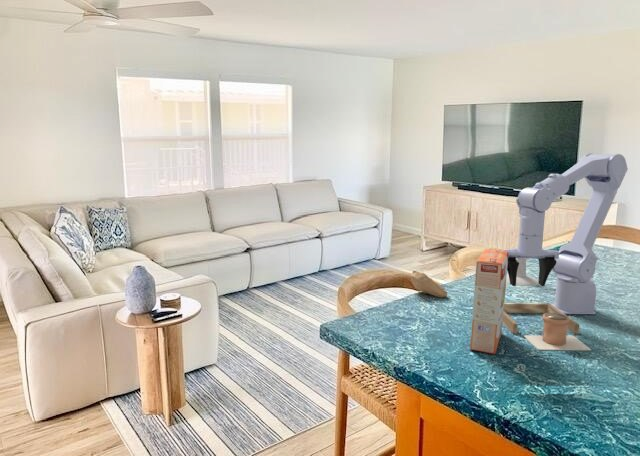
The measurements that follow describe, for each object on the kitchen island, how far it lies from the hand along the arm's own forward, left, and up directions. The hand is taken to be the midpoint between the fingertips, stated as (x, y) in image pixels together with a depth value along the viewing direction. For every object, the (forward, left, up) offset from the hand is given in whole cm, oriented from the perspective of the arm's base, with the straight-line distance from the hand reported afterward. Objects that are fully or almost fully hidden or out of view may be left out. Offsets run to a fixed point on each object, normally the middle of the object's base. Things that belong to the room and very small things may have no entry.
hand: (527, 284), depth 127 cm
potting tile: (-1, +16, -9) cm, 19 cm away
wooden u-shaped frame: (-1, +3, -9) cm, 10 cm away
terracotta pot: (0, +16, -9) cm, 18 cm away
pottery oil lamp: (+22, -20, -10) cm, 31 cm away
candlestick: (-12, -33, -10) cm, 37 cm away
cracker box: (+15, +16, -10) cm, 24 cm away
